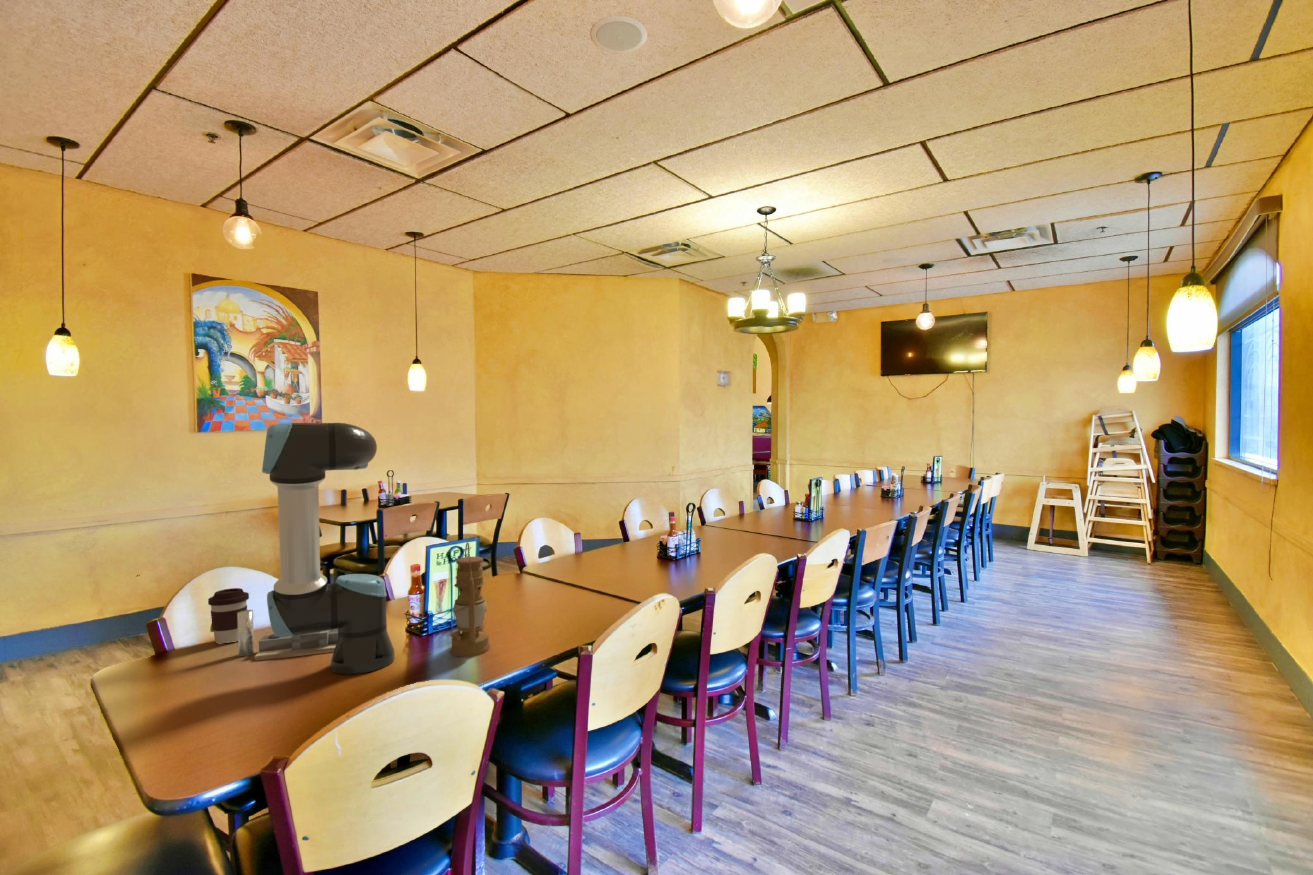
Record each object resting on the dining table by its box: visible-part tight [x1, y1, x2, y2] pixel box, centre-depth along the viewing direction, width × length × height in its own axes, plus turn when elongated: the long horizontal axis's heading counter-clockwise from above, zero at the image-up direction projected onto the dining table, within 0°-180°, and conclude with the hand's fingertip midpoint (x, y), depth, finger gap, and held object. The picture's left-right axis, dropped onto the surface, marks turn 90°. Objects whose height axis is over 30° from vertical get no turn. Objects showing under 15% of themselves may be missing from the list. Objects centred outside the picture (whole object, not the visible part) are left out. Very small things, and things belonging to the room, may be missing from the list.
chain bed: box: [254, 629, 338, 662], centre depth 173 cm, size 12×26×5 cm, turn 107°
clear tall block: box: [237, 609, 255, 657], centre depth 169 cm, size 4×4×12 cm
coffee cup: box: [207, 587, 250, 643], centre depth 181 cm, size 10×10×15 cm
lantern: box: [450, 542, 491, 658], centre depth 169 cm, size 15×10×30 cm
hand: (301, 558), depth 187 cm, fingers open, 13 cm apart
